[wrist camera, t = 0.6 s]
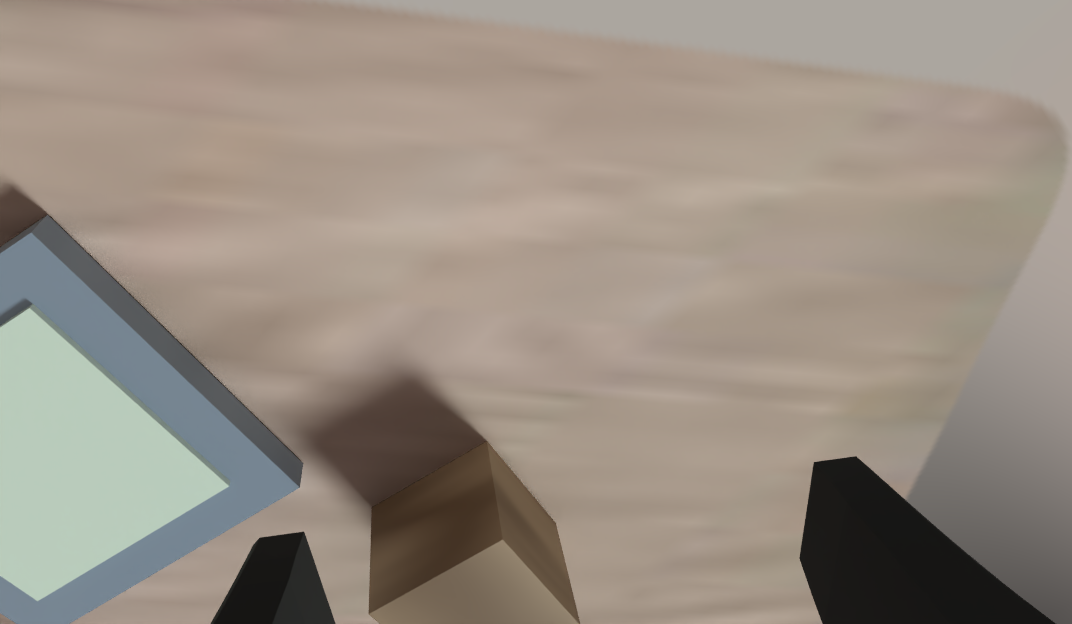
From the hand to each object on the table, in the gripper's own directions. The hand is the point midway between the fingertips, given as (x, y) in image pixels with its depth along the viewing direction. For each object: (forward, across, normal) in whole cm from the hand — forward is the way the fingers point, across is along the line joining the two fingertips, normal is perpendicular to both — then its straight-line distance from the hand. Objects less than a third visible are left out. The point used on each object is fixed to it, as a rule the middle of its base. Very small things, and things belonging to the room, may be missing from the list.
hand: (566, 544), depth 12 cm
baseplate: (+10, +12, +4) cm, 16 cm away
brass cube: (+10, +2, +10) cm, 14 cm away
